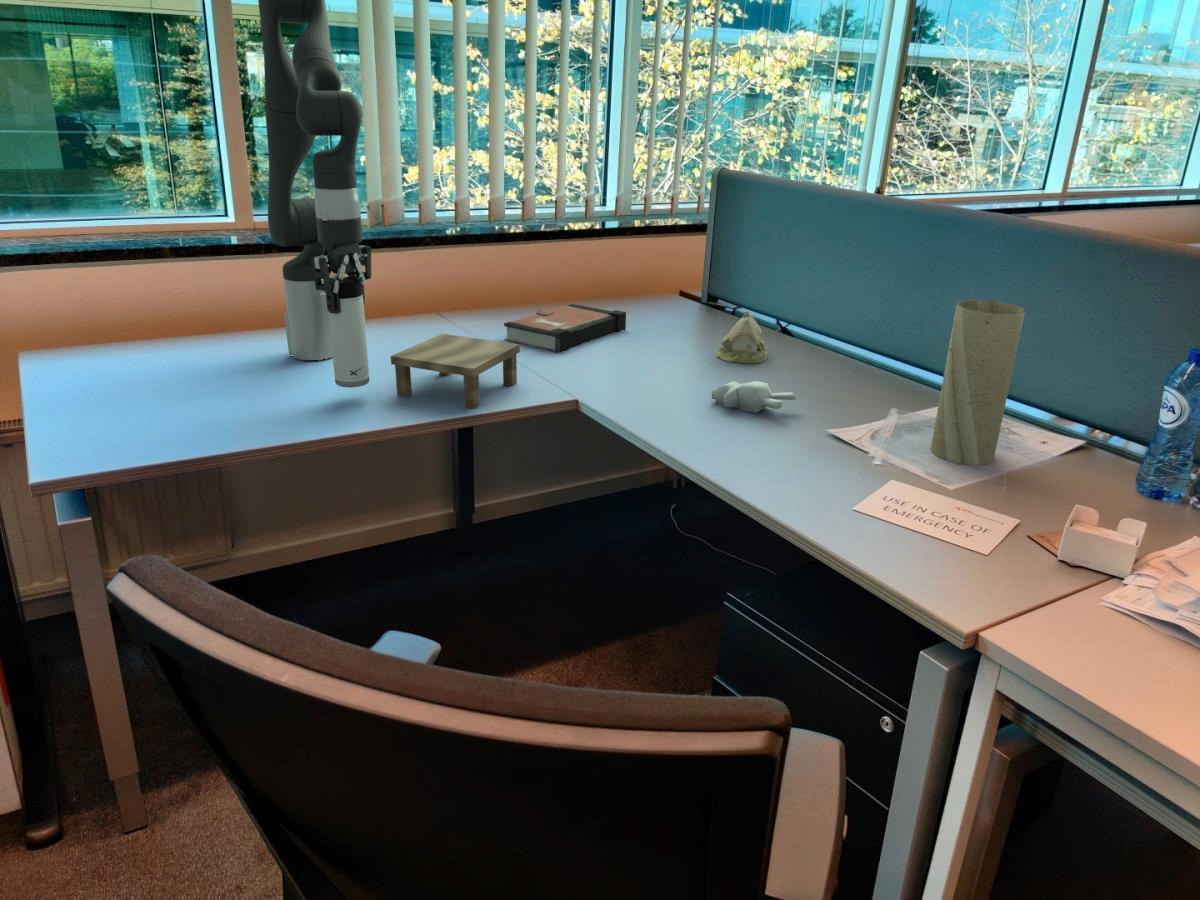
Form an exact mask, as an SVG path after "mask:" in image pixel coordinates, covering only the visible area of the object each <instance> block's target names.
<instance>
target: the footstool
mask: <svg viewBox="0 0 1200 900" xmlns="http://www.w3.org/2000/svg"><path fill="white" fill-rule="evenodd" d="M520 345H521V344H519V343H514V342H505V341H498V340H497V341H496V340H489V339H482V338H477V337H468V336H461V335H453V334H447V333H440V334H438V335H436V336H434V337H431V338H428V339H427V340H425V341H422V342H420V343H418V344H415V345H413V346H411V347H408V348H406V349H403V350H401V351H399V352H396V353H394V354H392V355H390V364H391V365H394V370H395V382H396V395H397V396H398V397H403V398H407V397H409V396H412V395H413V388H412V375H411V373H412V372H411V368H413V369H420V370H426V371H432V372H439V375H442V376H447V377H448V376H451V375H457V376H463V391H464V392H463V394H464V397H463V398H464V407H465V408H468V409H472V410H473V409H477V408H478V407H480V405H481V403H480V380H479V379H480V377H479V376H480V374H482V373H484V372H486V371H488V370H490V369H492V368H493V367H496V366H497V365H498V364H501V363H502V375H503V376H502V378H503V379H502V380H503V381H502V383H503V385H505V386H510V387H511V386H514V385H515V384H517V383H518V377H517V376H518V372H517V367H518V366H517V365H518V363H517V354H519V353H520V352H521V350H520V347H521V346H520Z"/></svg>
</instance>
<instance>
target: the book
mask: <svg viewBox="0 0 1200 900" xmlns="http://www.w3.org/2000/svg"><path fill="white" fill-rule="evenodd" d="M626 325H627V311H622V310H618V309H614V310H607V309H602V308H597V307H593V306H586V305H580V304H576V303H575V304H574V303H570V304H567V305H564V306H561V307H557V308H553V309H550V310H546V309H544V310H537V311H536V313H534V314H532V315H529V316H525V317H522V318H518V319H517V318H516V319H515V320H510V321H508V322H507V321H506V322H504V323H503V326H504V327H506V337H505V338H504V341H507V342H510V343H514V344H520V345H523V346H529V347H532V346H533V348H537V349H541V348H542V349H541V350H545V349H546V351H549V350H550V352H554V351H555V353H558V352H559V354H561V353H564V352H567V351H569V349H573V348H574V347H577V345H578V346H581V345H584V344H586V343H585V342H587V343H589V341H590V342H592V341H591V340H593V341H595V340H597V338H598V339H601V338H604V337H607V336H609V335H608V334H610V335H612V334H611V333H613V334H615V333H614V332H616V333H617V332H619V331H621V330H624V331H626V330H625V329H627V328H626V327H627V326H626ZM619 333H620V332H619ZM606 335H607V336H606ZM603 336H604V337H603ZM600 337H601V338H600ZM594 339H595V340H594ZM583 343H584V344H583ZM580 344H581V345H580ZM566 350H567V351H566ZM563 351H564V352H563ZM560 352H561V353H560Z"/></svg>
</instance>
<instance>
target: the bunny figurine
mask: <svg viewBox="0 0 1200 900" xmlns="http://www.w3.org/2000/svg"><path fill="white" fill-rule="evenodd" d="M711 400H715V402H716V403H717V404H718V405H719V406H721V407H722V406H723V407H725V408H737V409H739V410H740V411H742V412H746V413H753V414H757V413H759V412H760V411H761V410H765V409H766V408H770V409H772V410H778V409H781V408H782V407H783V400H785V401H786V400H787V401H794V400H796V394H795V393H794V392H773V393H772V391H771V388H770V387H769V384H768V383H767V382H764V381H750V382H743V383H738V382H737V381H731V382H728V383H725V384H724V385H722V386H719V387H717V388H716V389H714V390H711Z"/></svg>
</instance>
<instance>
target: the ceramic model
mask: <svg viewBox="0 0 1200 900" xmlns="http://www.w3.org/2000/svg"><path fill="white" fill-rule="evenodd" d="M762 335H763V331H762V328H761V327H760V324H758V322H757V321H756V319H755V318H754V317H753V316H752V314H751V313H750V312H749V311H745V312H744V313H743V316H742V317H741V318H740V319H739V320H738V321H737V322H736V323H735V324H734V325H733V327H732V328H731V329H730V330H729V332H728V333H727V334H726V335H725V336H724V337H722V339H721V340H720V344H721V346H722V347H720V349H718V352H717V354H716V356H717V358H720V359H721V360H723V361H725V362H727V363H747V364H748V363H749V364H758V363H761V362H764V361H766V360H767V359H768V351H767V348H766V347H767V346H766V345H765V342H764V339H763V337H762Z"/></svg>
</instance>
